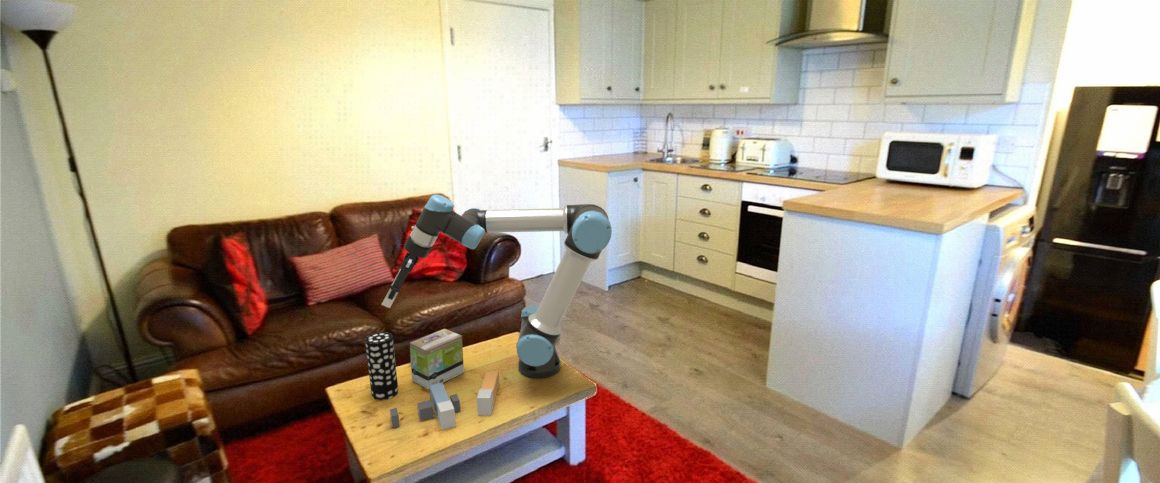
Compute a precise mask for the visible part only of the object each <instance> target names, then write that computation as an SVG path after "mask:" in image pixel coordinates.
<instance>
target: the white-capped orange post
mask: <svg viewBox="0 0 1160 483" xmlns="http://www.w3.org/2000/svg"><path fill="white" fill-rule="evenodd" d="M499 387H500V374H499V370H487V371H486V373H485V375H484V379H483V381H482V385H481V387H480V388H479V391H478V393H477V396H476V405H477V406H476V407H477V409H476V410H477V416H492V413H493V409H494V406H495V401H496V397H497V393H498V390H499Z"/></svg>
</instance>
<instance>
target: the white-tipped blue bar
mask: <svg viewBox="0 0 1160 483" xmlns="http://www.w3.org/2000/svg"><path fill="white" fill-rule="evenodd" d="M429 393H430V400H431V402H432V405H433V410H434V411H435V412H434V413H435V415H436V418H437V421H438V423H439V426H440V428H441V430H442V431H444V430H447V429H452V428H455V427H456V416H455V414H456V413H455V412H454V407H453V405H452V402H451V399H450V398H449V397H450V396H449V395H448V392H447V391H446V387H445V386H444V382H443V383H438V384H434V385H430V390H429Z"/></svg>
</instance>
